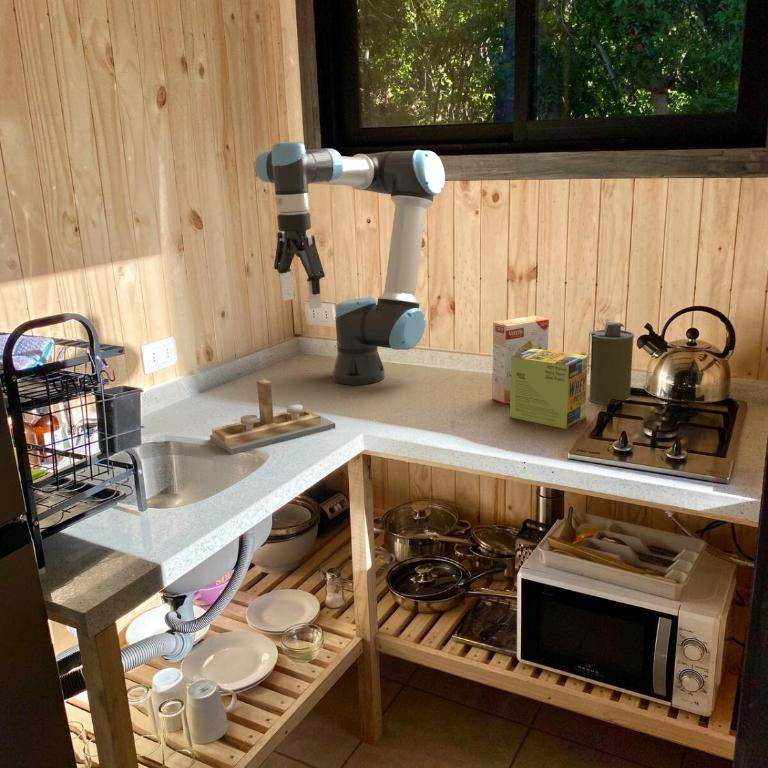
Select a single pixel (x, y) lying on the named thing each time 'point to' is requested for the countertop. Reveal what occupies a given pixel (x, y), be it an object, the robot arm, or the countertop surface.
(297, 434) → the board
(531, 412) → the protein box
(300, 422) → the ball track frame
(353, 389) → the countertop surface
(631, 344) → the canister
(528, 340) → the cracker box
